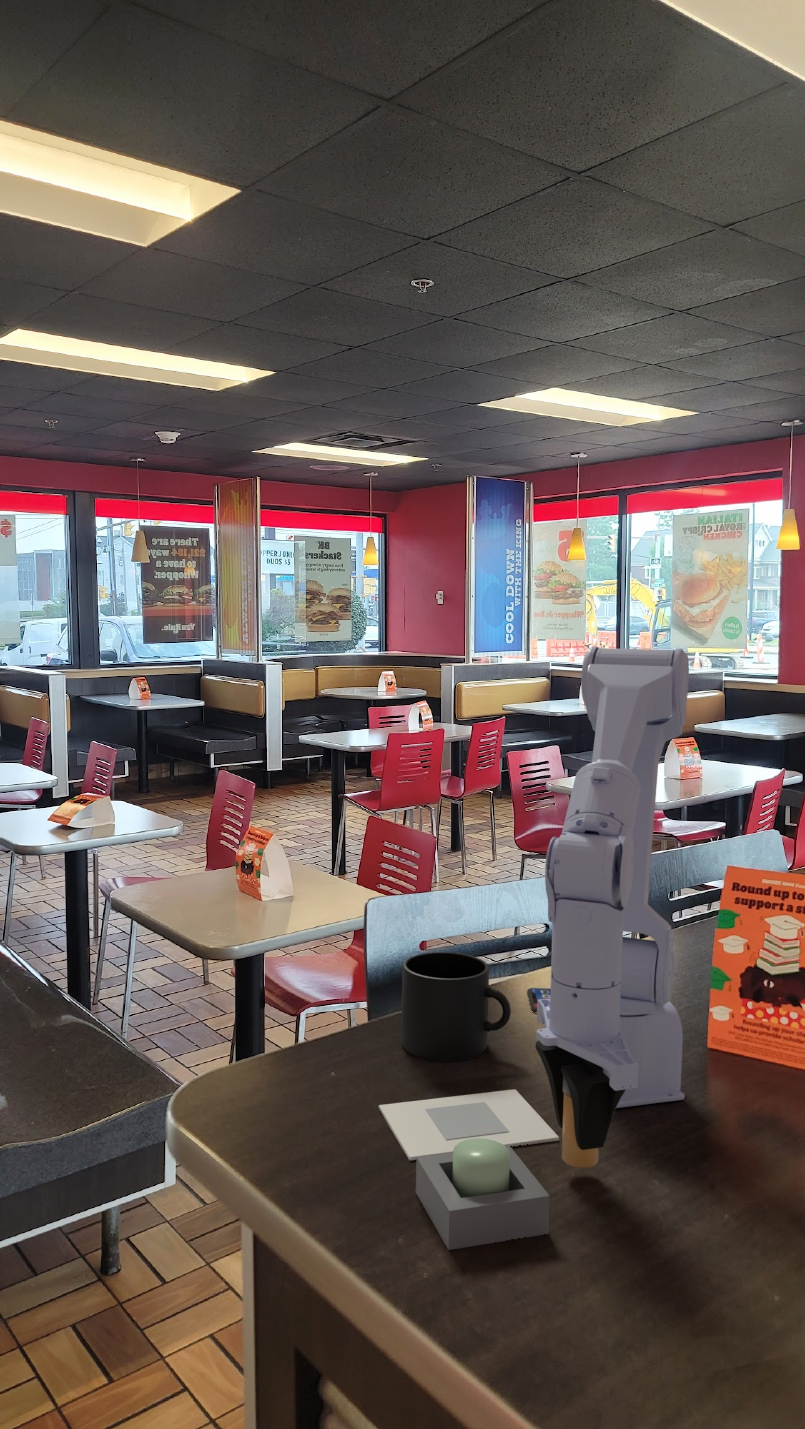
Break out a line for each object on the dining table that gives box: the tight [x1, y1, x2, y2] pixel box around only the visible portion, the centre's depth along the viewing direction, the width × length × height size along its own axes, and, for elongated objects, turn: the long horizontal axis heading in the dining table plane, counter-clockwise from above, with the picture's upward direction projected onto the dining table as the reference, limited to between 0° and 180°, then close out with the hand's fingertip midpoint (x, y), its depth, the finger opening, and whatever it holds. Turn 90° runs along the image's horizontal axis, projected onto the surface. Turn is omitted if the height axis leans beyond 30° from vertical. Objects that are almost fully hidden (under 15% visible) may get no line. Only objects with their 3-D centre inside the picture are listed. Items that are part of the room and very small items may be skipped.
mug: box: [400, 951, 512, 1063], centre depth 112 cm, size 9×12×9 cm
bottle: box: [561, 1075, 600, 1169], centre depth 86 cm, size 3×3×7 cm
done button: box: [452, 1138, 510, 1198], centre depth 80 cm, size 4×4×3 cm
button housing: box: [415, 1145, 551, 1251], centre depth 80 cm, size 8×8×3 cm
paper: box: [378, 1088, 560, 1162], centre depth 95 cm, size 14×10×1 cm
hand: (580, 1135), depth 86 cm, fingers closed on bottle, 3 cm apart
